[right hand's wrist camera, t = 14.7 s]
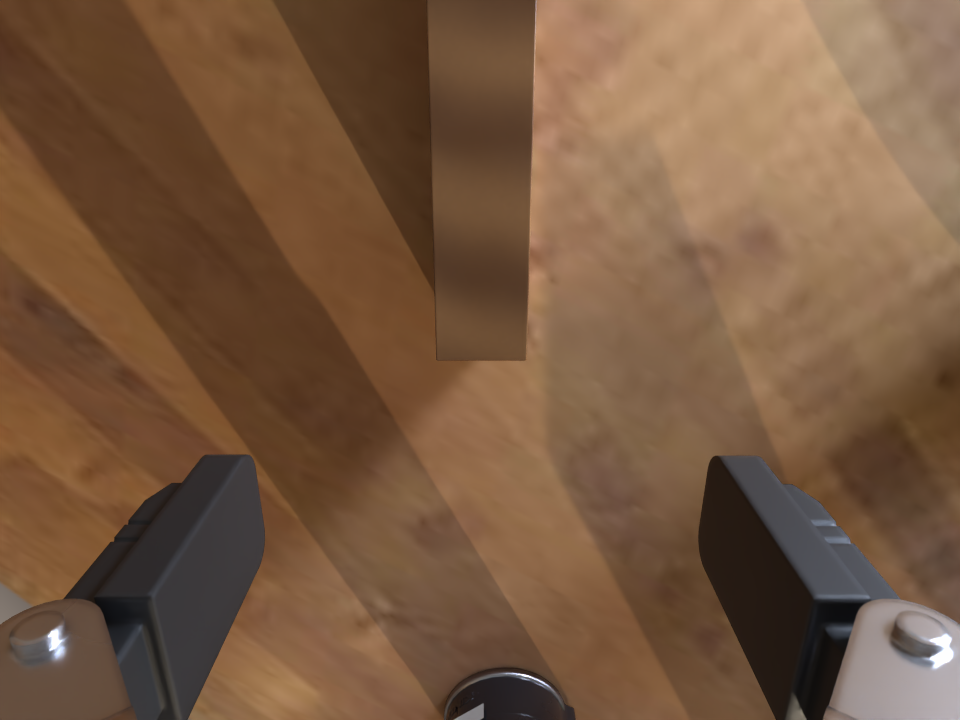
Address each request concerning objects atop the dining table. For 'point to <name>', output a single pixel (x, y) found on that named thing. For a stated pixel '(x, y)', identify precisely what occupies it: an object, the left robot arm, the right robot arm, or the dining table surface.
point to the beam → (481, 174)
